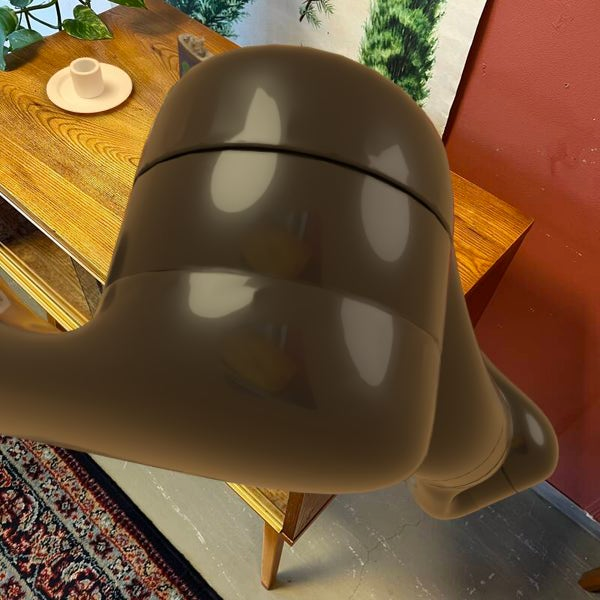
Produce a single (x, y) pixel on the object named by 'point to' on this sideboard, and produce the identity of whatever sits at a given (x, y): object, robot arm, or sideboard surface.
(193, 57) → the flask
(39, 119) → the sideboard surface
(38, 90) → the sideboard surface
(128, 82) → the candle holder
